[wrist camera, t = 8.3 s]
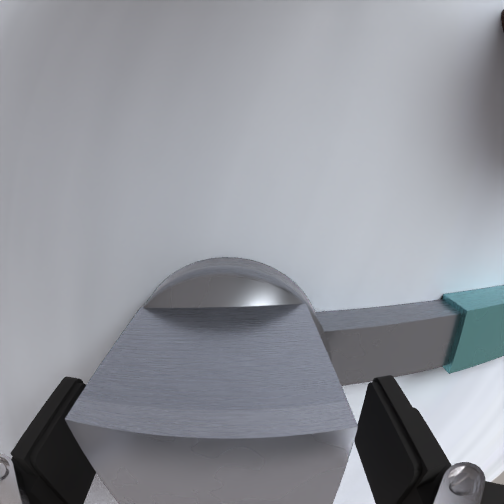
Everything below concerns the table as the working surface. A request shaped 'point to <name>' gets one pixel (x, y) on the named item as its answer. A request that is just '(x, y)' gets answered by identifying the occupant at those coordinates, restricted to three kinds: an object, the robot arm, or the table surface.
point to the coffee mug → (502, 19)
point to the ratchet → (355, 320)
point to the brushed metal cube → (217, 409)
